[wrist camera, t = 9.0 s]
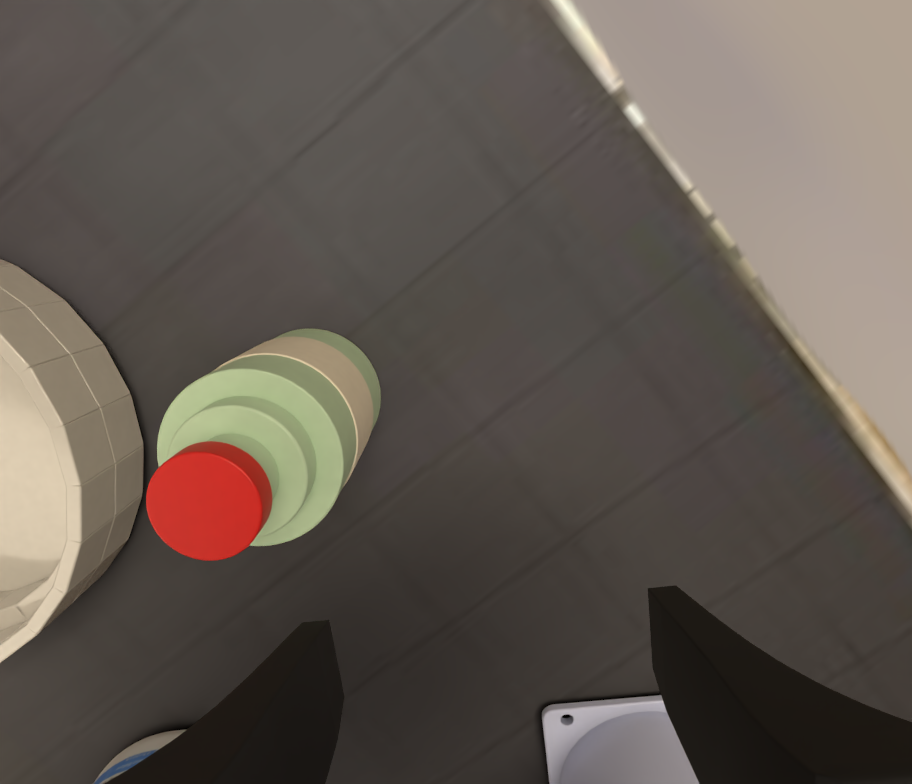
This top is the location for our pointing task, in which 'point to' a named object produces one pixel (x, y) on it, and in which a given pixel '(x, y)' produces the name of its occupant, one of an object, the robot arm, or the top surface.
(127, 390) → the pan
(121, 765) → the supplement tub
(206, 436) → the bottle
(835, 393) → the top surface
